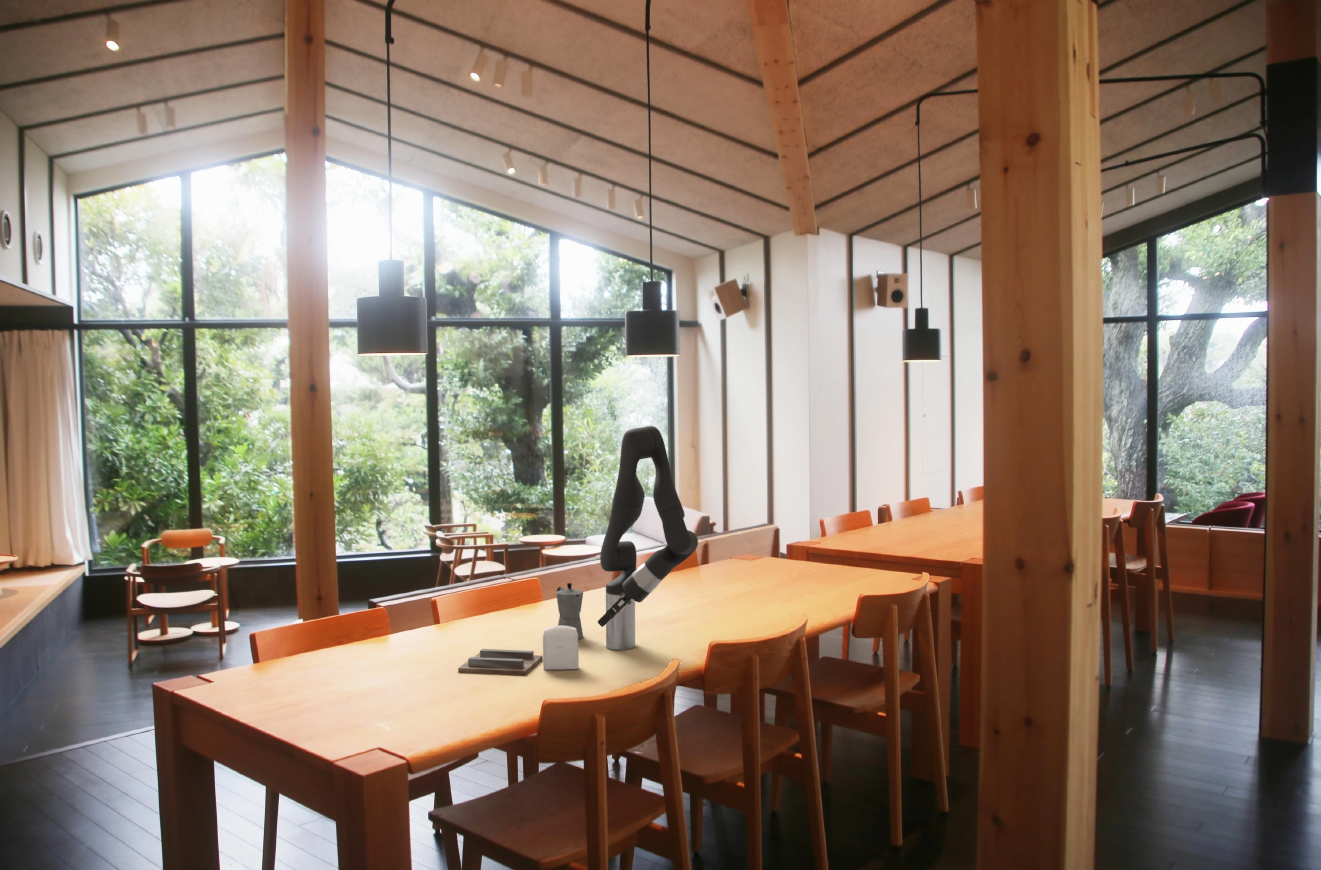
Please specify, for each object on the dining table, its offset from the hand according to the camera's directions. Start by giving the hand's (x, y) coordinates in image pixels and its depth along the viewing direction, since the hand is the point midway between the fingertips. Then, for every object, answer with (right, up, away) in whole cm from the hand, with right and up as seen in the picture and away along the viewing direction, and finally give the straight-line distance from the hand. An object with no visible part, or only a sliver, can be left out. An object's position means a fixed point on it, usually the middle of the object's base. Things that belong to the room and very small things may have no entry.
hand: (603, 620), depth 247 cm
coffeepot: (-14, -14, +39) cm, 44 cm away
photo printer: (-12, -14, +2) cm, 19 cm away
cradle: (-30, -14, +5) cm, 34 cm away
